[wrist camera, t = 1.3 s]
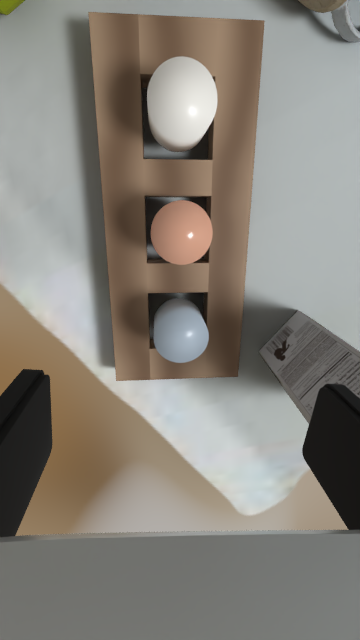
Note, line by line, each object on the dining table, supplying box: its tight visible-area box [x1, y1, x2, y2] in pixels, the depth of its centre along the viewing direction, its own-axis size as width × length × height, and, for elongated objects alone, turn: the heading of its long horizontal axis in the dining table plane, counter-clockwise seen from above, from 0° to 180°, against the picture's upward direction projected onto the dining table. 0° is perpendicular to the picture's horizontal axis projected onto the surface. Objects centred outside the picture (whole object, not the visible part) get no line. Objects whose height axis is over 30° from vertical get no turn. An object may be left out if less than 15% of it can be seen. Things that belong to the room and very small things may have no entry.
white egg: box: [147, 56, 217, 152], centre depth 21 cm, size 4×4×4 cm
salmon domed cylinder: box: [151, 200, 213, 265], centre depth 23 cm, size 4×4×4 cm
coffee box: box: [259, 311, 360, 424], centre depth 25 cm, size 9×6×16 cm
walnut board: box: [88, 12, 264, 381], centre depth 26 cm, size 12×28×2 cm, turn 0°
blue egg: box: [154, 298, 209, 363], centre depth 26 cm, size 4×4×4 cm
